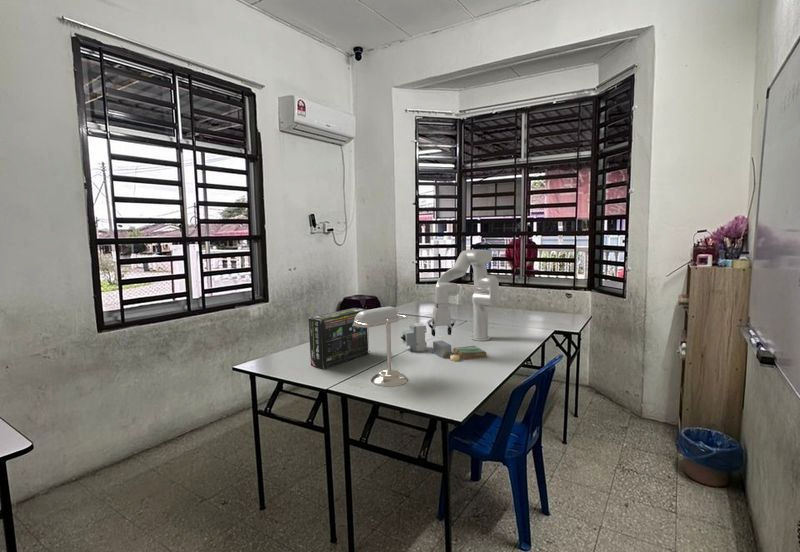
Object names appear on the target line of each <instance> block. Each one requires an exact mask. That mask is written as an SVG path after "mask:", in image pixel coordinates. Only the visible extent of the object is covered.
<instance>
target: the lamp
mask: <svg viewBox="0 0 800 552" xmlns="http://www.w3.org/2000/svg"><path fill="white" fill-rule="evenodd" d="M408 318H409V317H408V316H407V315H403V314H399V313H398V310H397V309H396V308H395V307H393V306H383V307H377V308H372V309H367V310H365V311H361V312H359V313H358V314H357V315H356V317H355V320H354V324H353V326H357V327H363V328H367V332H368V352H369V353H370V352H371V350H370V344H369V342H370V340H369V337H370V335H369V333H370V332H369V329H370V328H375V327H379V326H383V325H386V369H383V370H381V371H379V372H378V373H376V374H375V375H373V376H372V377H371V378H370V382H371V383H372V384H373V385H377V386H380V387H397V386H401V385H404V384H406V383H407V382H408V381H409V378H408V376H406V375H405V374H404V373H401V372H400V371H398V370H397V369H392V336H391V332H392V330H391V329H392V327H391V324H392V323H397V322H399V321H402V320H406V319H408Z"/></svg>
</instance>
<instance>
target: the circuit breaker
mask: <svg viewBox="0 0 800 552" xmlns="http://www.w3.org/2000/svg"><path fill="white" fill-rule="evenodd" d="M408 326H409V327H408V328H409V329H408V330H402V335H401V336H400V339H402V343H403V344H404V345H405V346H406V347H408V346H409V349H411V351H413V352H419V351H427V346H428V345H427V344H428V343H427V342H426V333H427V325H426V324H424V323H422V322H419V323H409V325H408Z"/></svg>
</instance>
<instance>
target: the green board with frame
mask: <svg viewBox="0 0 800 552" xmlns="http://www.w3.org/2000/svg"><path fill="white" fill-rule="evenodd" d="M452 349H453V350H452V351H453V352H452V353H454V355H459V358H461V359H463V360H471V359H473V360H474V359H480V358H487V352H486V351H485V350H483V349H481V348H480V347H477V346H476V345H468V346H458V347H453V348H452Z"/></svg>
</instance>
